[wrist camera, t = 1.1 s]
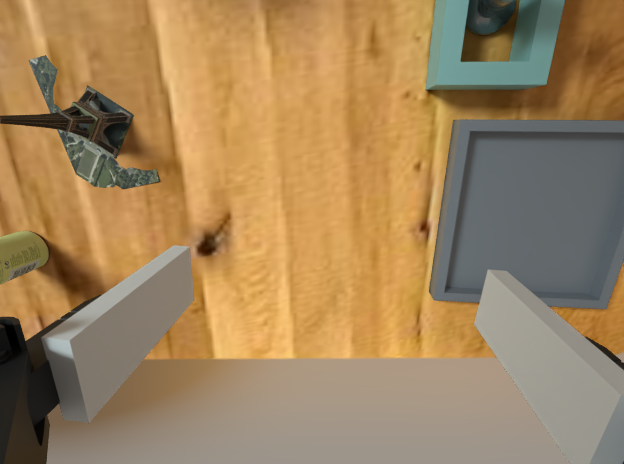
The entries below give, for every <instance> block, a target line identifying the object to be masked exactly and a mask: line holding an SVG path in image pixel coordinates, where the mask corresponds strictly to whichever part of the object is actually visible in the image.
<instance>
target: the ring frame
mask: <svg viewBox="0 0 624 464" xmlns="http://www.w3.org/2000/svg"><path fill="white" fill-rule="evenodd" d="M564 3H565V0H520V5H519V10H518V15H517V21H516V26H515V32H514V37H513V43H512V48H511V53H510V59H509V62H460V61H461V54H462V47H463V39H464V32H465V25H466V18H467V11H468V4H469V0H436V2H435V11H434V19H433V28H432V37H431V46H430V55H429V64H428V73H427V82H426V90H525V89H529V88H533V87H538V86H542V85H546V84H547V80H548V75H549V71H550V66H551V62H552V57H553V53H554V48H555V44H556V39H557V35H558V30H559V26H560V21H561V17H562V12H563V8H564Z"/></svg>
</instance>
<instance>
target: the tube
mask: <svg viewBox="0 0 624 464" xmlns="http://www.w3.org/2000/svg"><path fill="white" fill-rule="evenodd" d="M48 256H49V252H48V248H47V246H46V244H45V242H44V241H43V240H42V239H41V238H40V237H39V236H38V235H37V234H35V233H33V232H29V231H20V232H16V233H13V234H9V235H6V236H2V237H0V284H2V283H5V282H7V281H9V280H12V279H14V278H16V277H18V276H21V275H23V274H25V273H28V272H30V271H32V270H34V269H36V268H39V267H41V266H43V265H44V264H45V263H46V262H47V260H48Z"/></svg>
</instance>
